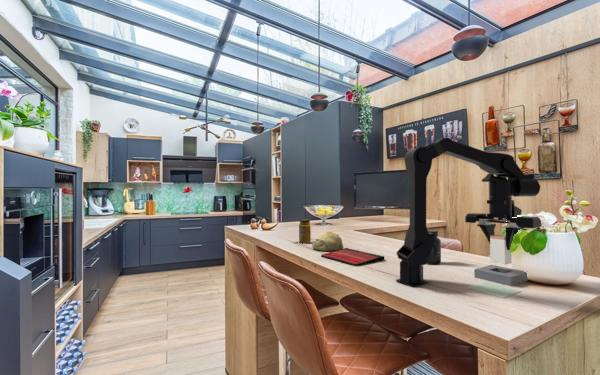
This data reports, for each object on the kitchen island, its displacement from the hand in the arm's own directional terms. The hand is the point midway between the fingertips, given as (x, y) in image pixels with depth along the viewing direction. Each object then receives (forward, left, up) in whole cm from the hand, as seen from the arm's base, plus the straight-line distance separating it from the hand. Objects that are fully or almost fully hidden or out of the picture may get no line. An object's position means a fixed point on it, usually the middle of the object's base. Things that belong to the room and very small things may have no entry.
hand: (500, 248), depth 92 cm
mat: (-12, -4, -10) cm, 16 cm away
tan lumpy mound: (-15, +67, -10) cm, 69 cm away
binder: (-18, +47, -10) cm, 52 cm away
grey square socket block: (0, 0, -10) cm, 10 cm away
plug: (0, 0, -4) cm, 4 cm away
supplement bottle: (+2, +25, -10) cm, 27 cm away
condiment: (-15, +88, -10) cm, 90 cm away
